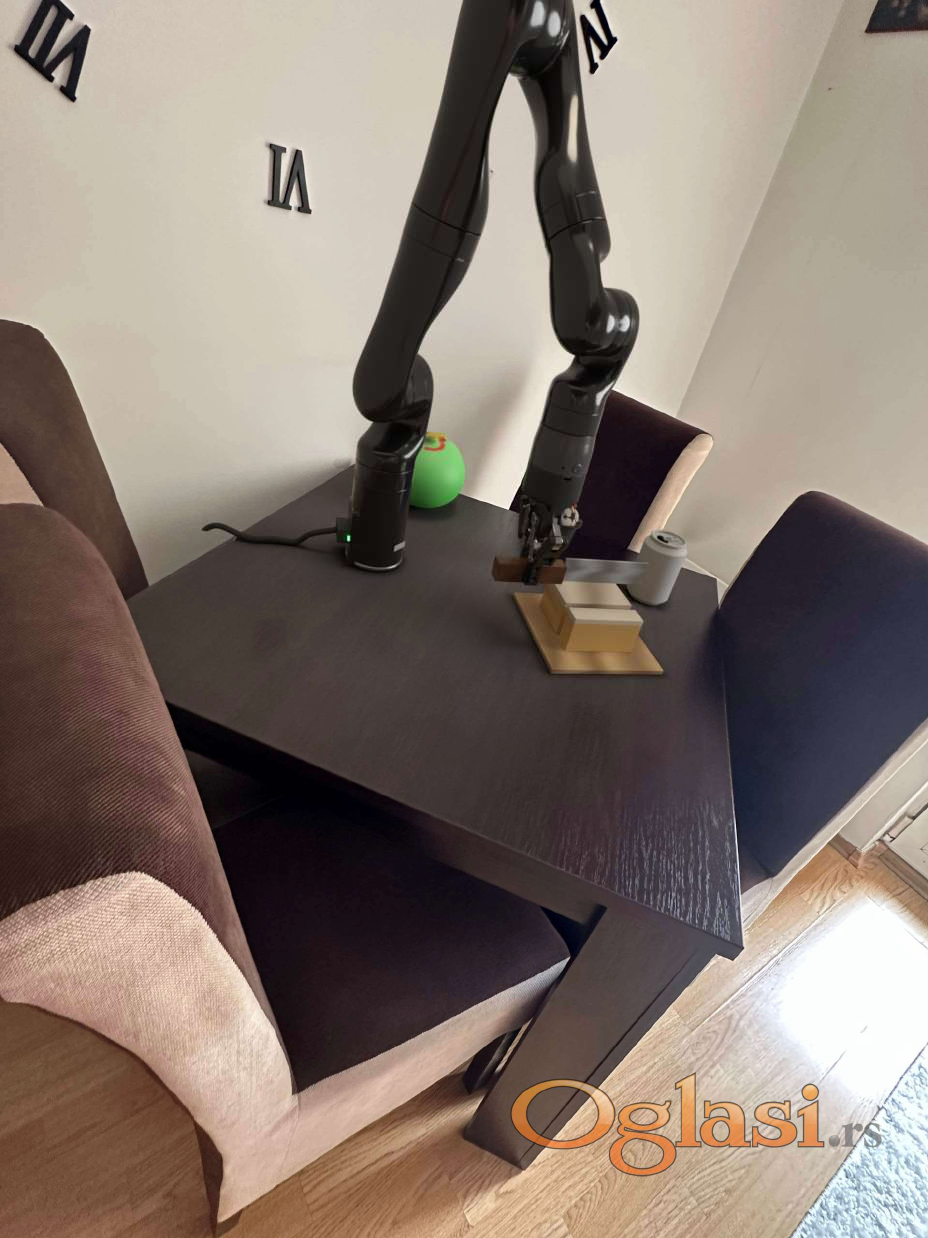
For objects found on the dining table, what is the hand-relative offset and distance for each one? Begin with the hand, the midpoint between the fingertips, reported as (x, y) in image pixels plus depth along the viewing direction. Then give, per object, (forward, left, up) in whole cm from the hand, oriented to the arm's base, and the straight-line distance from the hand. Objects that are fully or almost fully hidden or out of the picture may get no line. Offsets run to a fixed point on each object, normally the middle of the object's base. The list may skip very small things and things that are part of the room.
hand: (526, 578), depth 91 cm
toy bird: (-7, +46, -11) cm, 48 cm away
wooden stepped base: (+13, +2, -11) cm, 17 cm away
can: (+30, +14, -11) cm, 35 cm away
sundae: (+14, +22, -11) cm, 28 cm away
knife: (+7, 0, 0) cm, 7 cm away
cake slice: (+13, -2, -10) cm, 16 cm away
